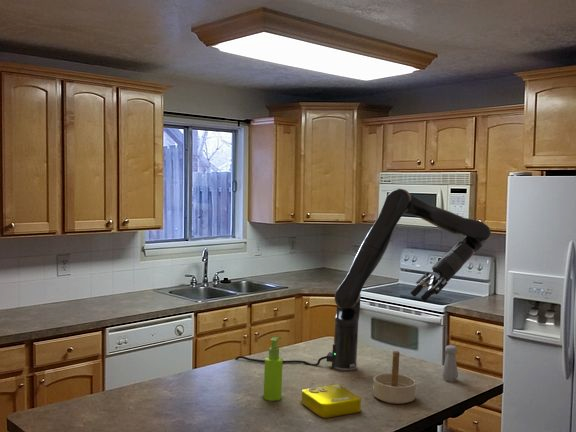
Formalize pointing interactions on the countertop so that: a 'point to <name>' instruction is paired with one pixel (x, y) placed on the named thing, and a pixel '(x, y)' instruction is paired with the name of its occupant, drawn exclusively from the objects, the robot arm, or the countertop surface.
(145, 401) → the countertop surface
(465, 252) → the robot arm
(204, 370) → the countertop surface
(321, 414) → the element tile
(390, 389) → the bowl
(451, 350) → the salt shaker
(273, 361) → the soap dispenser
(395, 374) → the wooden pestle
